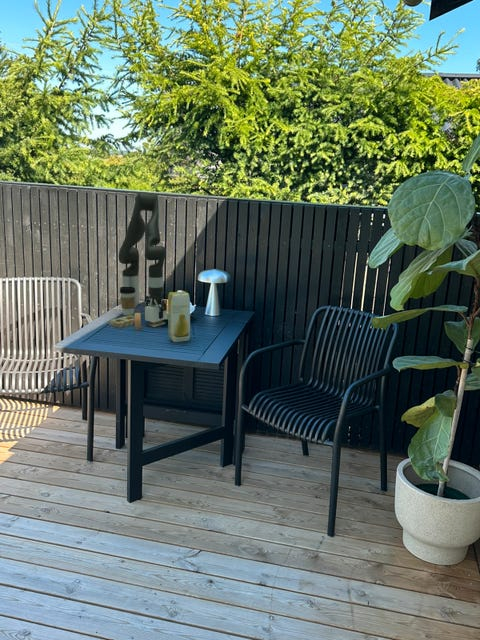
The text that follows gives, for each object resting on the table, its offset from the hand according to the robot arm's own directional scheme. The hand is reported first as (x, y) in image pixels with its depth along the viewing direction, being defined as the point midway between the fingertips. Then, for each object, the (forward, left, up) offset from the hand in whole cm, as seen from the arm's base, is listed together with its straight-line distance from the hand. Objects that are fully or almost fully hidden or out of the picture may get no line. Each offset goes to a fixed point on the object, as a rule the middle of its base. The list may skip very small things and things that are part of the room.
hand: (156, 317), depth 296 cm
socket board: (-13, -10, -4) cm, 17 cm away
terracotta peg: (-1, -12, -4) cm, 13 cm away
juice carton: (+27, -11, -4) cm, 30 cm away
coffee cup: (-27, +4, -4) cm, 27 cm away
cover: (0, 0, -1) cm, 1 cm away
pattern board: (0, 0, -4) cm, 4 cm away
